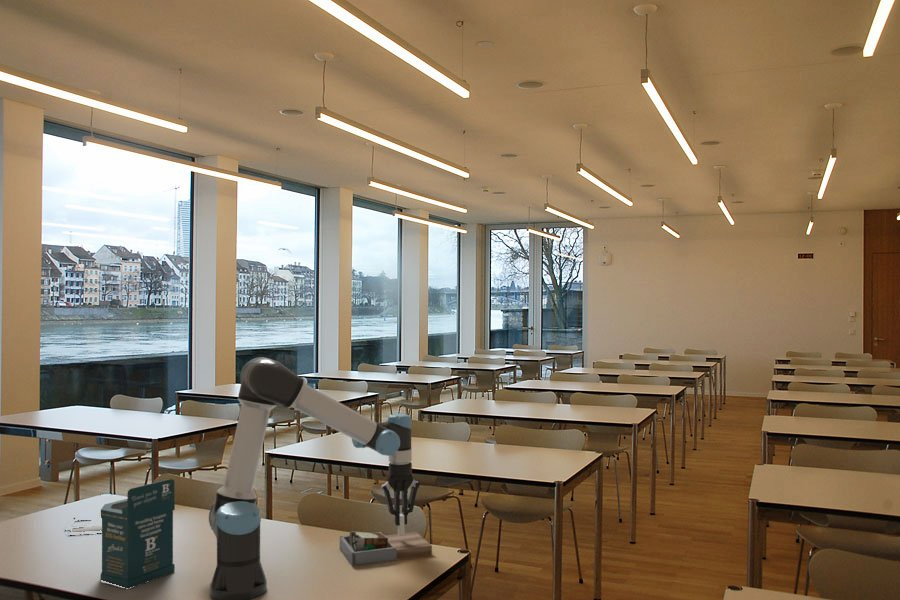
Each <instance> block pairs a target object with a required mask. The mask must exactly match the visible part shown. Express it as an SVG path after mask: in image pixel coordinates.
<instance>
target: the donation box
mask: <svg viewBox="0 0 900 600" xmlns="http://www.w3.org/2000/svg"><path fill="white" fill-rule="evenodd" d="M175 503H176V502H175V479H173V478H170V479H163V480H160V481H157V482H156V481H155V482H152V483H147V484H144V485H140V486H136V487H132V488H129V489H128V490H127V498H125V499H121V500H116V501H112V502H109V503H104V505H103V506H102V507H101V509H100V515H101V518H102V534H101V573H100V581H101V580H103V581H106V582H109V583H112V584H116V585H119V586H122V587H125V588H130V587H133V586H136V587H138V586H137V585H139V584H142V583H144V584H146V583H145V582H147V581H149V582H152V581H154V580H153V579H155V580H157V579H156V578H158V579H160V578H163V577H165V576H167V575H171V574H173V573H175V570H176V569H175V568H176V566H175V563H174V511H175V510H176V509H175V505H176V504H175ZM151 580H152V581H151ZM147 583H148V582H147ZM142 585H143V584H142ZM139 586H140V585H139Z"/></svg>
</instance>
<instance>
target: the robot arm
mask: <svg viewBox="0 0 900 600" xmlns="http://www.w3.org/2000/svg"><path fill="white" fill-rule="evenodd" d="M239 380H240V388H239V392H238V396H237V400H238V402H239V403H240V405H241V406H240V410H239V411H240V412H239V416H238V419H237V424H236V430H235V434H234V437H233V438H234V439H233V442H232V448H231V451H230V456H229V460H228V465H227V470H226V473H225V479H224V481H223V486H221V487H219V488H218V489H217V490H216V494H215V499H214V502H213V504H212V505H211V507H210V508H209V513H208V523H209V527H210V529H211V530H212V532H213V533H214V536H215V539H216V567H215V570H214V573H213V577H212V579H211V581H210V582H211V583H210V586H209V594H210V597H211V598H212V599H214V600H251V599H254V598H257V597H259V596H262V594H264V593H265V592H266V591H267V588H268V587H267V584H268V582H267V577H266V575H265V571H264V569H263V568H264V567H263V566H262V563H261V520H262V515H261V510H260V507H259V506H258V505H257V504H256V503H257V497H258V496H257V494H256V492H255V491H254V488H255V482H256V478H257V474H258V469H259V464H260V460H261V454H262V450H263V447H264V446H263V445H264V441H265V436H266V432H267V428H268V423H269V418H270V413H271V411H272V410H273V409H274V408H276V407H277V405H280V406H282V407H283V408H285V409H291V408H293V409H295V410H297V411H299V412H301V413H302V414H305V415H306V416H308V417H310V418H312V419H314V420H316V421H318V422H320V423H322V424H324V425H326V426H328V427H330V428H332V429H333V430H335V431H337V432H339V433H341V434H342V435H345V436H347V437H348V438H350V439H351V441H352V442H351V443H352V444H353V447H355V448H356V449H361V448H362V449H364V448H365V449H366V448H369V449H371V450H373V451H374V452H376V453H378V454H380V455H382V456H387V457H388V462H389V463H388V478H387V480H386V482H385V483H384V484H381V485H380V487H381V490H382V492H383V494H384V497H385V500H386V505H387V509H388V512H389V513H390V515H394V524H395V526H397V534H398V535H399V536H405V533H406V531H405V528H406V527H405V525H407V524H408V516H409V514H411V513H413V511H414V507H415V502H416V497H417V491H418V489H419V487H421V483H420V482H419V481H418V480H415V479H414V477H413V466H412V465H413V464H412V460H413V459H412V458H413V456H412V455H413V454H412V428H413V427H412V421H411V420H412V417H411V416H410V415H409V414H407V413H394V414H389V415H388V416H387V420H386V421H382V422H376V421H374V420H373V419H370V418H368V417H367V416H365V415H363V414H361V413H359V412H357V411H356V410H354V409H352V408H350V407H349V406H347V405H345V404H343V403H342V402H340V401H338V400H335V399H334V398H332V397H330V396H328V395H327V394H324V393H323V392H321V391H319V390H317V389H316V388H314V387H312V386H310V385H308V384H306V381H305V378H302V377H301V376H299V375H297V374H296V373H295V372H293V371H291V370H290V369H289V368H288V367H286V366H285V365H283V364H282V363H281V362H279V361H277V360H274V359H272V358H268V357H263V356H261V357H256V358H253V359H251V360H248V362H247V363H246V364H244V366H243V367H242V369H241V371H240V375H239ZM410 486H411V489H410V493H408V492H409V491H408V490H409V488H410ZM390 488H391V489H392V490H393V500H392V497H391V493H390V491H389V490H390ZM408 494H409V497H408ZM408 498H409V499H408ZM400 500H401V501H400ZM400 503H401V504H400Z"/></svg>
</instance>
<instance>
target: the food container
mask: <svg viewBox="0 0 900 600" xmlns="http://www.w3.org/2000/svg"><path fill="white" fill-rule="evenodd" d="M349 535H350V546H351V548H352V549H353V550H354V552H358V551H366V550H374V549H383V548H386V547H387V543H388V538H387V537H386V536H384V535H385V534H383V533H382V534H381V533H375V532H373V531H372V532H371V531H369V532H368V531H356V530H355V531H353V530H351V531H349Z"/></svg>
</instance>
